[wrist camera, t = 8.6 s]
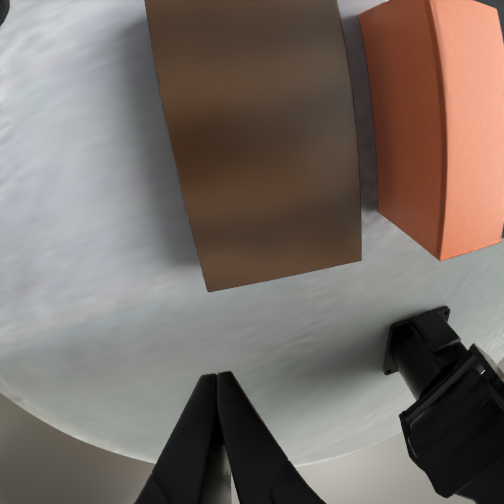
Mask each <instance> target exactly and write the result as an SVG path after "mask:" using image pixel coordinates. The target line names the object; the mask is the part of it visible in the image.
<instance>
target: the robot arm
mask: <svg viewBox="0 0 504 504" xmlns="http://www.w3.org/2000/svg"><path fill="white" fill-rule="evenodd" d="M449 314H450V309H449V308H448V307H447V306H444V307H442V308H439V309H436V310H433V311H431V312H428V313H425V314H422V315H419V316H416V317H413V318H410V319H407V320H404V321H401V322H398V323H395V324H393V325H392V326H391V327H390V331H389V337H388V343H387V349H386V355H385V361H384V366H383V373H384V374H385V375H389V374H392V373H395V372H398V371H399V372H400V374H401V375H402V377H403V379H404V380H405V382H406V384H407V385H408V387H409V389H410V391H411V392H412V394H413V396H414V397H415V399H416V402H415V403H414V404H413V405H411V406H410V407H409V408H408V409H407V410H406V411H403V412H402V413H401V414H399V418H400V421H401V426H402V430H403V434H404V438H405V442H406V445H407V450H408V454H409V457H410V458H411V459H412V461H413V462H414V463H415V464H416V465H417V466H418V467H419V468H420V469H422V470H423V471H425V473H426V474H427V476H428V478H429V480H430V481H431V483H432V485H433V487H434V489H435V492H436V493H438V494H439V495H441V496H442V497H445V498H449V497H450V496H452V495H454V494H456V495H458V496H462V497H464V498H467V499H471V500H473V501H474V502H475V503H476V504H504V373H503V372H502V371H501V369H500V368H499V367H498V366H497V365H496V363H495V362H494V361H493V360H492V359H491V358H490V357H489V356H488V355H487V354H486V353H485V352H484V351H483V350H481V349H480V348H479V347H478V346H477V345H475V344H474V343H473V344H472V345H471V346H470V348H469V350H467V349H466V347H465V346H464V345H463V344H462V343H461V341H460V340H461V339H460V337H459V336H458V335H457V334H456V332H455V331H454V330H453V329H452V328H451V327H450V325H449V324H448V323H447V321H448V318H449ZM484 370H485V372H484V373H483V374H481V373H482V372H483V371H484ZM231 472H232V476H233V480H234V484H235V488H236V491H237V495H238V499H239V502H240V504H326V503H325V502H324V501H323V500H322V499H321V498H320V497H319V496H318V495H317V494H316V493H315V492H314V491H313V490H312V489H311V488H310V487H309V485H308V484H307V483H306V482H305V480H304V479H303V478H302V477H301V475H300V474H299V473H298V472H297V470H296V469H295V467H294V466H293V465H292V463H291V462H290V461H289V460H288V458H287V456H286V455H285V453H284V452H283V450H282V449H281V448H280V446H279V445H278V443H277V442H276V440H275V439H274V437H273V436H272V434H271V433H270V431H269V430H268V428H267V427H266V425H265V424H264V422H263V421H262V419H261V418H260V416H259V414H258V413H257V411H256V410H255V408H254V407H253V405H252V404H251V402H250V400H249V399H248V397H247V396H246V394H245V392H244V391H243V389H242V388H241V386H240V384H239V383H238V381H237V379H236V378H235V376H234V375H233V373H232V372H231V371H225V372H219V373H217V375H216V374H215V373H212V374H205V375H202V376H201V377H200V379H199V381H198V383H197V385H196V387H195V388H194V390H193V392H192V394H191V396H190V398H189V400H188V402H187V404H186V406H185V408H184V410H183V412H182V414H181V416H180V418H179V420H178V422H177V424H176V426H175V428H174V430H173V432H172V434H171V436H170V438H169V439H168V441H167V443H166V445H165V447H164V449H163V451H162V453H161V455H160V457H159V459H158V461H157V463H156V465H155V467H154V469H153V471H152V474H151V475H150V476H149V478H148V480H147V482H146V484H145V486H144V488H143V489H142V491H141V493H140V495H139V496H138V498H137V500H136V502H135V503H134V504H231Z"/></svg>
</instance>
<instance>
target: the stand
mask: <svg viewBox="0 0 504 504" xmlns="http://www.w3.org/2000/svg"><path fill="white" fill-rule="evenodd" d="M144 1H145V7H146V14H147V21H148V27H149V33H150V39H151V45H152V51H153V57H154V63H155V68H156V74H157V79H158V84H159V90H160V95H161V100H162V105H163V110H164V115H165V120H166V125H167V129H168V134H169V139H170V143H171V148H172V152H173V157H174V161H175V166H176V170H177V175H178V179H179V183H180V187H181V192H182V196H183V200H184V204H185V208H186V212H187V216H188V220H189V224H190V228H191V232H192V236H193V240H194V243H195V247H196V251H197V255H198V259H199V262H200V266H201V270H202V273H203V277H204V281H205V284H206V288H207V291H208V292H214V291H219V290H224V289H229V288H234V287H239V286H244V285H249V284H254V283H259V282H264V281H269V280H274V279H278V278H283V277H288V276H293V275H297V274H302V273H307V272H311V271H316V270H321V269H325V268H330V267H334V266H339V265H343V264H348V263H352V262H357V261H361V260H362V226H361V190H360V170H359V155H358V142H357V130H356V120H355V110H354V101H353V93H352V85H351V78H350V71H349V64H348V58H347V51H346V45H345V40H344V34H343V29H342V24H341V18H340V14H339V9H338V4H337V0H144Z"/></svg>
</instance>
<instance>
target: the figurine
mask: <svg viewBox="0 0 504 504" xmlns="http://www.w3.org/2000/svg"><path fill="white" fill-rule="evenodd" d="M9 8H10V1H9V0H0V26H1V24H2V23H3V22H4V20H5V18H6V16H7V13H8V11H9Z"/></svg>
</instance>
